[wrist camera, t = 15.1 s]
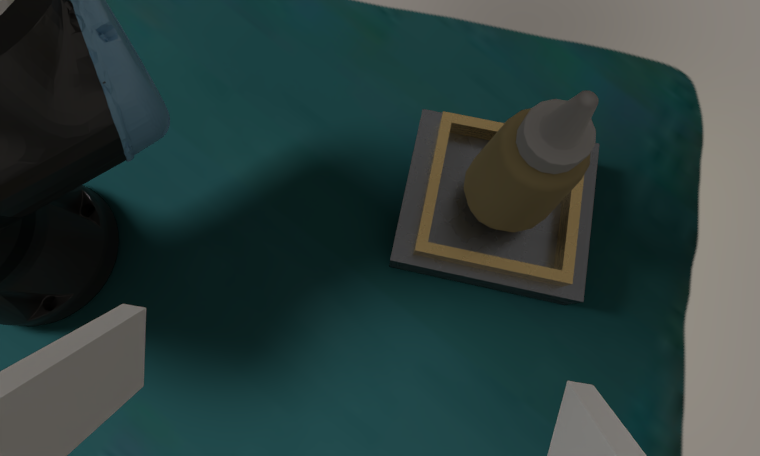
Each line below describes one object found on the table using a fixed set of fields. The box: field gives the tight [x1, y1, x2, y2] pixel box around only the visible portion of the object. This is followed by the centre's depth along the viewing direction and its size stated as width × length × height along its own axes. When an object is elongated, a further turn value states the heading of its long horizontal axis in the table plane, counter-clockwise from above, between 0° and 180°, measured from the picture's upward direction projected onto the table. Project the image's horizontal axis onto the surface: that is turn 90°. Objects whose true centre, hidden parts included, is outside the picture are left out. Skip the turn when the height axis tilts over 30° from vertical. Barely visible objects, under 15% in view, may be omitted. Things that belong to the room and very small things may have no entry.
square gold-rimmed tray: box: [389, 109, 599, 305], centre depth 41 cm, size 18×16×6 cm
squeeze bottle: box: [464, 91, 598, 232], centre depth 32 cm, size 8×8×18 cm
